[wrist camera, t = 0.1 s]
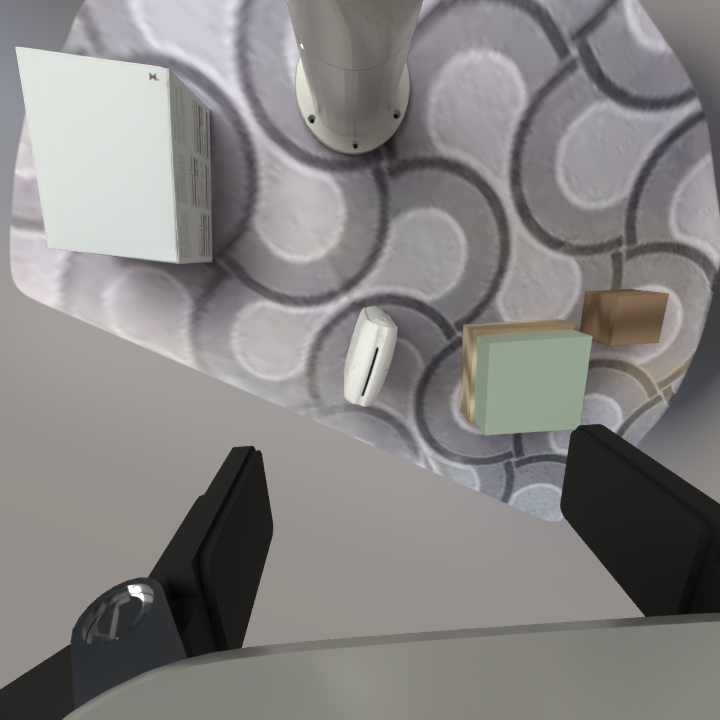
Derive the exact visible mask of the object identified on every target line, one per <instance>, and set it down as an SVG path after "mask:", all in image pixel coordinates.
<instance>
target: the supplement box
mask: <svg viewBox="0 0 720 720" xmlns="http://www.w3.org/2000/svg"><path fill="white" fill-rule="evenodd" d="M16 53H17V60H18V65H19V72H20V78H21V84H22V90H23V95H24V102H25V108H26V114H27V120H28V126H29V132H30V139H31V145H32V151H33V157H34V163H35V169H36V175H37V181H38V188H39V194H40V200H41V206H42V212H43V219H44V225H45V231H46V237H47V244H48V248H49V249H57V250H66V251H75V252H84V253H92V254H100V255H108V256H116V257H125V258H133V259H141V260H149V261H158V262H167V263H175V264H185V263H200V262H212V208H211V159H210V109H209V108H208V107H207V106H206V105H205V104H204V103H203V102H202V101H201V100H200V99H199V98H198V97H197V96H196V95H195V94H194V93H193V92H192V91H191V90H190V89H189V88H188V87H187V86H186V85H185V84H184V83H183V82H182V81H181V80H180V79H179V78H178V77H177V76H176V75H175V74H174V73H173V72H172V71H171V70H170V69H167V68H162V67H158V66H151V65H144V64H137V63H130V62H122V61H115V60H107V59H100V58H93V57H86V56H78V55H72V54H65V53H58V52H51V51H45V50H38V49H29V48H22V47H16Z"/></svg>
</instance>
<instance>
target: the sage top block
mask: <svg viewBox="0 0 720 720" xmlns="http://www.w3.org/2000/svg"><path fill="white" fill-rule="evenodd" d="M592 338H593V336H590V335H587V334H584V333H581V332H578V331H575V330H572V329H567V330H552V331H537V332H522V333H507V334H492V335H477V357H476V380H475V404H474V422H475V423H476V424H477V426H478V427H479V428H480V429H481V431H482V432H483V433H484V435H496V434H511V433H526V432H540V431H555V430H570V429H576V428H577V427H578V426H580V421H581V414H582V407H583V400H584V393H585V386H586V379H587V372H588V365H589V358H590V352H591V345H592Z"/></svg>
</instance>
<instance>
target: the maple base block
mask: <svg viewBox="0 0 720 720" xmlns="http://www.w3.org/2000/svg"><path fill="white" fill-rule="evenodd" d="M567 329H572V330H575V324H573V323H570V322H566V321H563V320H560V319H543V320H527V321H512V322H496V323H480V324H464V325H463V347H462V376H461V405H460V410H461V412H462V413H463V415H464V416H465V417H466V419H467V420H468V422H469V423H475V422H474V404H475V380H476V357H477V335H492V334H507V333H522V332H537V331H552V330H567Z"/></svg>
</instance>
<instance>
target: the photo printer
mask: <svg viewBox="0 0 720 720" xmlns="http://www.w3.org/2000/svg"><path fill="white" fill-rule="evenodd" d="M397 331H398V328H397V326H396V325H395V323H394V322H393V320H392V319H391V318H390V316H389V315H388V314H385V312H384V311H383V310H382V309H380V308H378V307H375V306H370V307H367V308H365V307H363V309H362V311H361V312H360V315H359V317H358V320H357V323H356V326H355V329H354V333H353V336H352V339H351V343H350V347H349V350H348V354H347V359H346V363H345V373H344V396H345V398H346V399H347V400H348V401H349V402H351V403H353V404H358V405H361V406H364V407H367V406H371V405H372V404H373V403H374V402H375V400H376V399H377V398H378V396H379V394H380V391H381V389H382V387H383V384H384V381H385V379H386V376H387V373H388V370H389V367H390V364H391V361H392V357H393V354H394V350H395V346H396V340H397Z"/></svg>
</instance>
